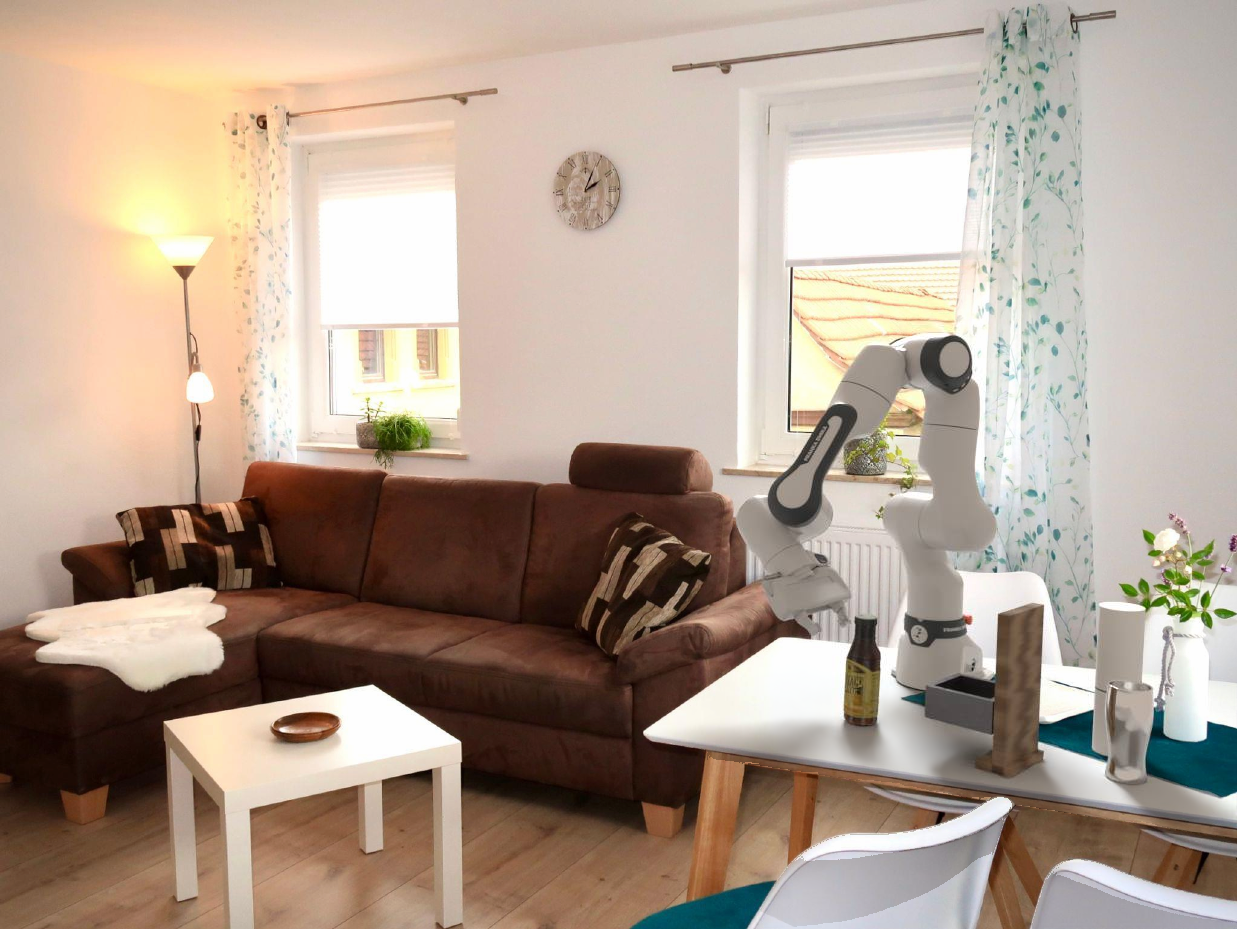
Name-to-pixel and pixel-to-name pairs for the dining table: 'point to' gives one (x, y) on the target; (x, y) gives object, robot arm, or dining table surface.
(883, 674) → the dining table surface
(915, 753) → the dining table surface
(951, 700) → the open rectangular box
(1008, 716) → the wall board
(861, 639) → the sauce bottle
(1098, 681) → the cylindrical container
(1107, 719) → the beer glass
